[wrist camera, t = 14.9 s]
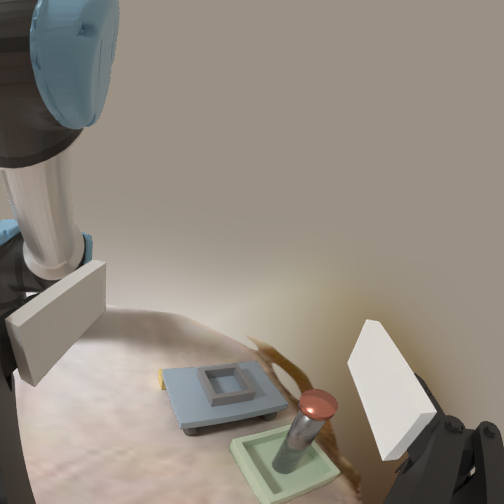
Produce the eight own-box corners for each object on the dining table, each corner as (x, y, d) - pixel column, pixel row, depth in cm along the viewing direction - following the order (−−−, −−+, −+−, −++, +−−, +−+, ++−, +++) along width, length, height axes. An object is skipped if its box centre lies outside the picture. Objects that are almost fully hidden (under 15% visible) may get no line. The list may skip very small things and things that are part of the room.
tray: (229, 448, 37) (232, 438, 36) (293, 431, 42) (299, 421, 41) (264, 509, 27) (270, 502, 26) (332, 480, 32) (340, 472, 31)
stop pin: (263, 458, 35) (293, 393, 31) (288, 450, 37) (323, 385, 33) (277, 480, 31) (315, 420, 27) (303, 470, 33) (344, 408, 29)
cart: (158, 378, 48) (159, 349, 46) (244, 370, 57) (252, 343, 55) (179, 441, 36) (181, 415, 34) (280, 421, 44) (292, 395, 42)
